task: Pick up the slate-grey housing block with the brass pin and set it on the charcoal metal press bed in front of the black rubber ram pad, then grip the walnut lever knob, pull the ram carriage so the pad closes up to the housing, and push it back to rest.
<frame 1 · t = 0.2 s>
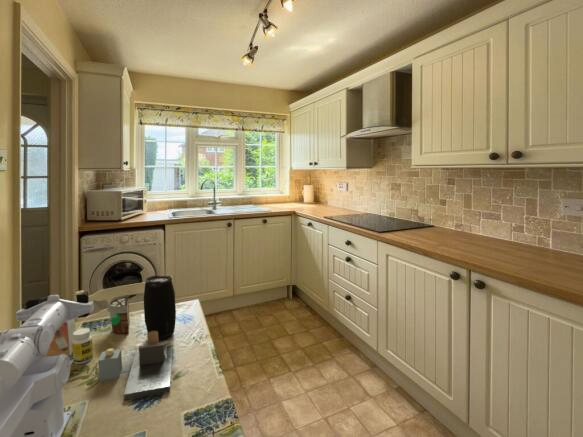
hand: (69, 297, 81), 21 cm above the table, tool horizontal, fingers open, 7 cm apart
housing block: (111, 374, 84), on the table
portable speaker: (161, 336, 105), on the table
food container: (119, 330, 109), on the table
ram carriage: (152, 346, 89), point 5 cm above the table, slide at 0.0 cm
supplement bottle: (83, 360, 91), on the table
press bed: (151, 371, 86), on the table
small box: (58, 353, 94), on the table
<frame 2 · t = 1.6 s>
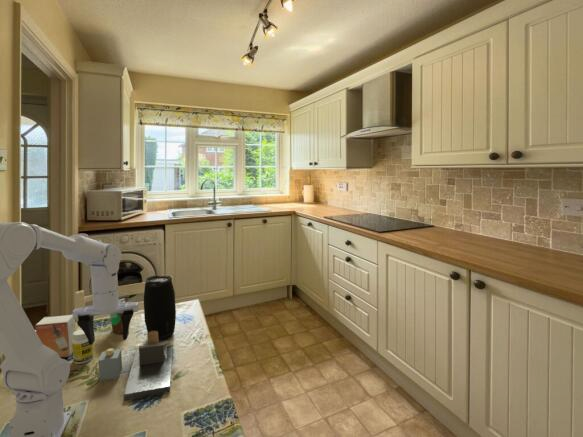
hand: (108, 340, 83), 9 cm above the table, tool pointing down, fingers open, 7 cm apart
nothing on the table moved.
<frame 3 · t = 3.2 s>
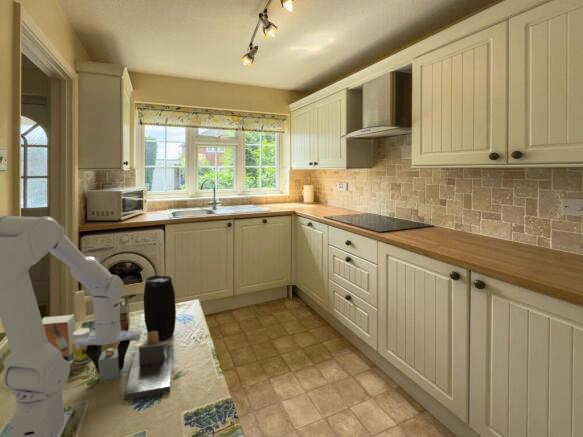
hand: (111, 369, 84), 1 cm above the table, tool pointing down, fingers closed on housing block, 4 cm apart
housing block: (111, 374, 84), on the table, touching gripper
everything else where it was.
when the fingers open (4 cm above the table, at t = 8.0 s): housing block stays where it is, resting on press bed.
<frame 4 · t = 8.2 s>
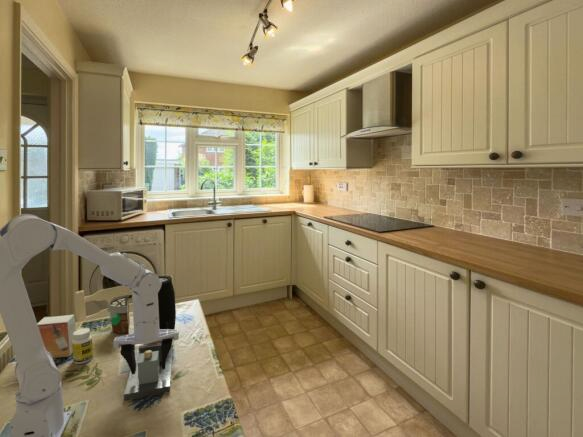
hand: (149, 369, 80), 4 cm above the table, tool pointing down, fingers open, 6 cm apart
housing block: (149, 377, 81), point 1 cm above the table, touching press bed
everything else where it was.
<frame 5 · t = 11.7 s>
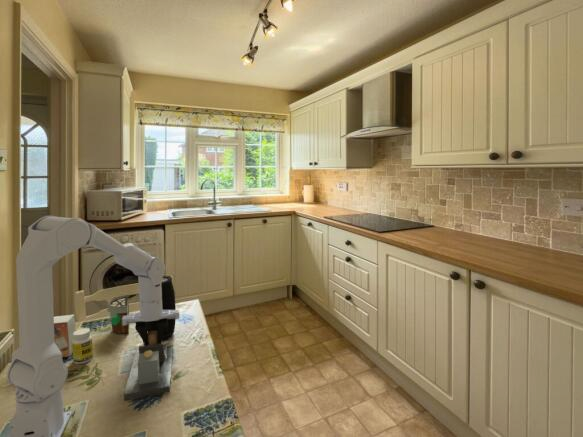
hand: (153, 345, 91), 4 cm above the table, tool pointing down, fingers closed on ram carriage, 3 cm apart
ram carriage: (152, 346, 89), point 5 cm above the table, slide at 0.0 cm, touching gripper
everything else where it was.
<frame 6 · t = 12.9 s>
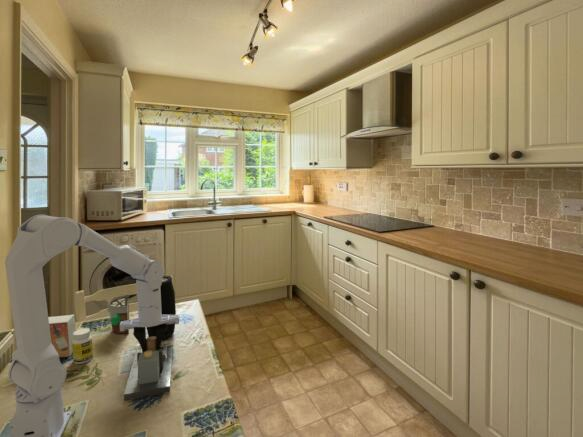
hand: (152, 351, 87), 4 cm above the table, tool pointing down, fingers closed on ram carriage, 3 cm apart
ram carriage: (151, 352, 86), point 5 cm above the table, slide at 3.4 cm, touching gripper
everything else where it was.
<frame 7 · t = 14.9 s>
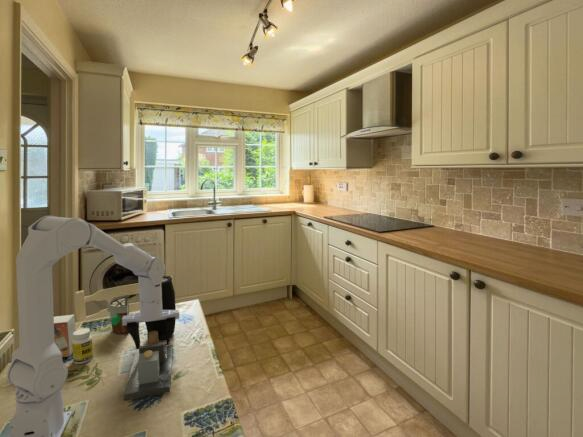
hand: (153, 345, 91), 4 cm above the table, tool pointing down, fingers open, 7 cm apart
ram carriage: (152, 346, 89), point 5 cm above the table, slide at 0.0 cm
everything else where it was.
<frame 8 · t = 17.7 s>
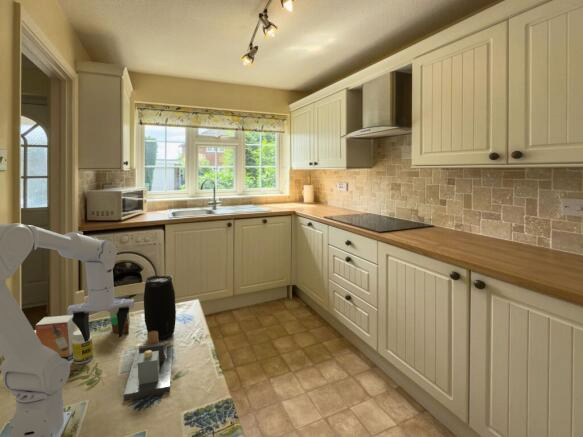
hand: (104, 337, 83), 10 cm above the table, tool pointing down, fingers open, 7 cm apart
nothing on the table moved.
at the end: housing block 0.1 cm from the target spot on the press bed, point 1.5 cm above the press bed's base; housing block tilted 0°; ram carriage slide at 0.0 cm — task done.
